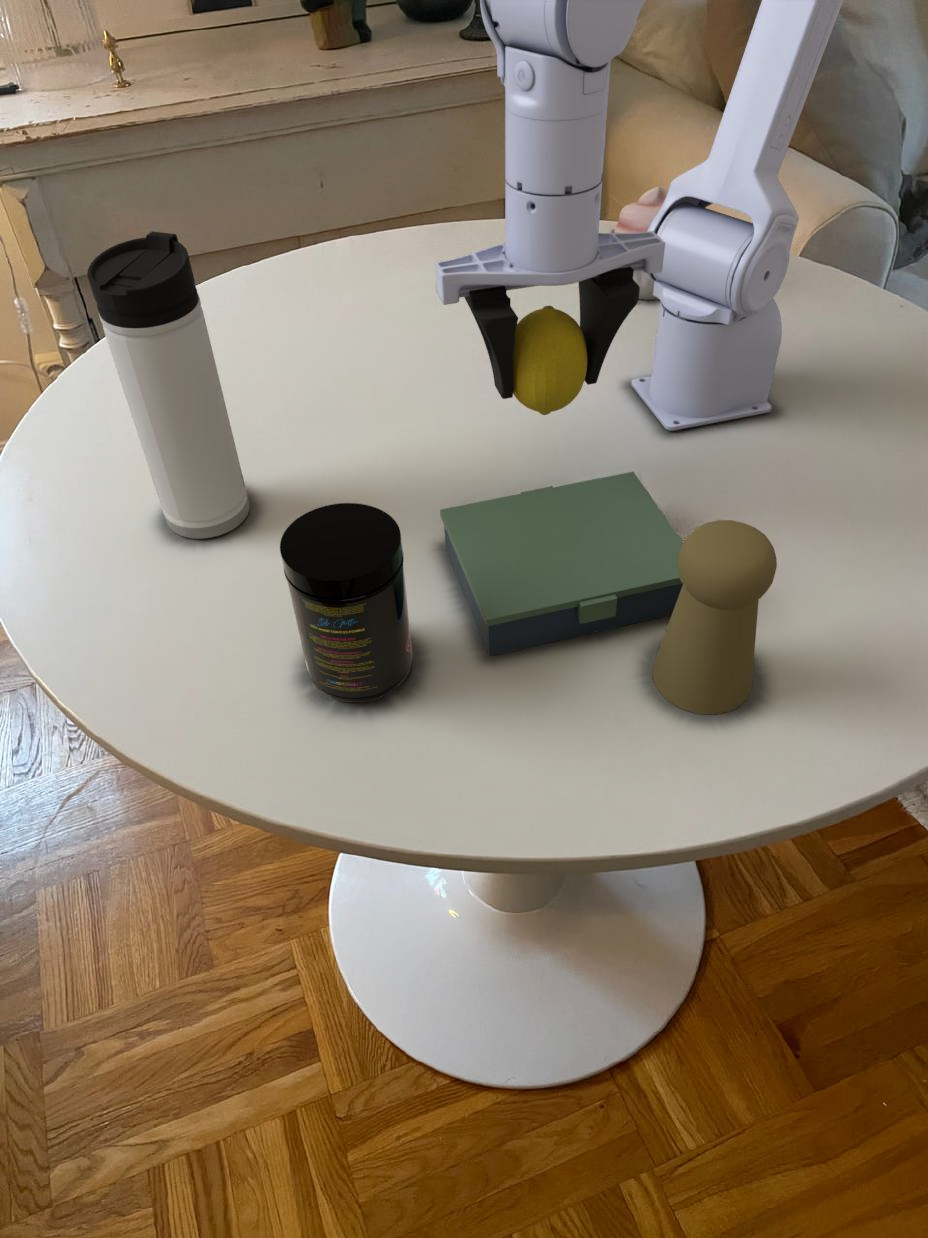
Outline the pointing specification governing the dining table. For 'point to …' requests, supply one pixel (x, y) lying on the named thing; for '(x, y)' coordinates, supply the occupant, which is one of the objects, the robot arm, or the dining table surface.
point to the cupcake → (641, 229)
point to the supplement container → (349, 599)
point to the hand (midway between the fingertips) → (546, 383)
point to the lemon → (548, 360)
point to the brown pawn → (715, 618)
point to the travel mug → (171, 382)
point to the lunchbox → (563, 561)
